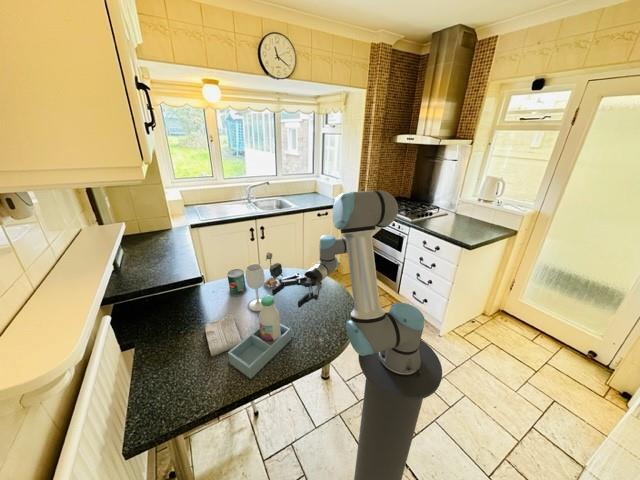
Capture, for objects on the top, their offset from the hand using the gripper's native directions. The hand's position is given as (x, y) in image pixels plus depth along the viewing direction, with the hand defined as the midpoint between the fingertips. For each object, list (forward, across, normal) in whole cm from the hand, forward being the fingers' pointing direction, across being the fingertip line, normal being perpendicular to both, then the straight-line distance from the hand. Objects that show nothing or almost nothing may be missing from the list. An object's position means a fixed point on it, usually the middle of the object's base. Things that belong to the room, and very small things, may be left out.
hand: (285, 298), depth 102 cm
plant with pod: (-22, -28, +16) cm, 39 cm away
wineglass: (-4, -21, +16) cm, 27 cm away
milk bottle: (+9, 0, +15) cm, 17 cm away
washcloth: (+18, -18, +16) cm, 30 cm away
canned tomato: (-6, -38, +16) cm, 42 cm away
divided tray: (+14, 0, +16) cm, 21 cm away
